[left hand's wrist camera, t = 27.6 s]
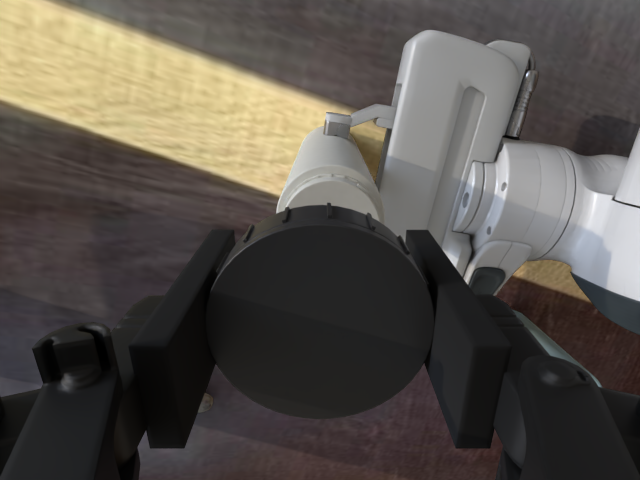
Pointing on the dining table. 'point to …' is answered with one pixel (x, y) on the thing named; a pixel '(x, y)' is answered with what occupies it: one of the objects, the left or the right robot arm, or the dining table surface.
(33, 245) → the dining table surface
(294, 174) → the jar
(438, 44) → the right robot arm
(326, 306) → the lid
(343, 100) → the dining table surface
